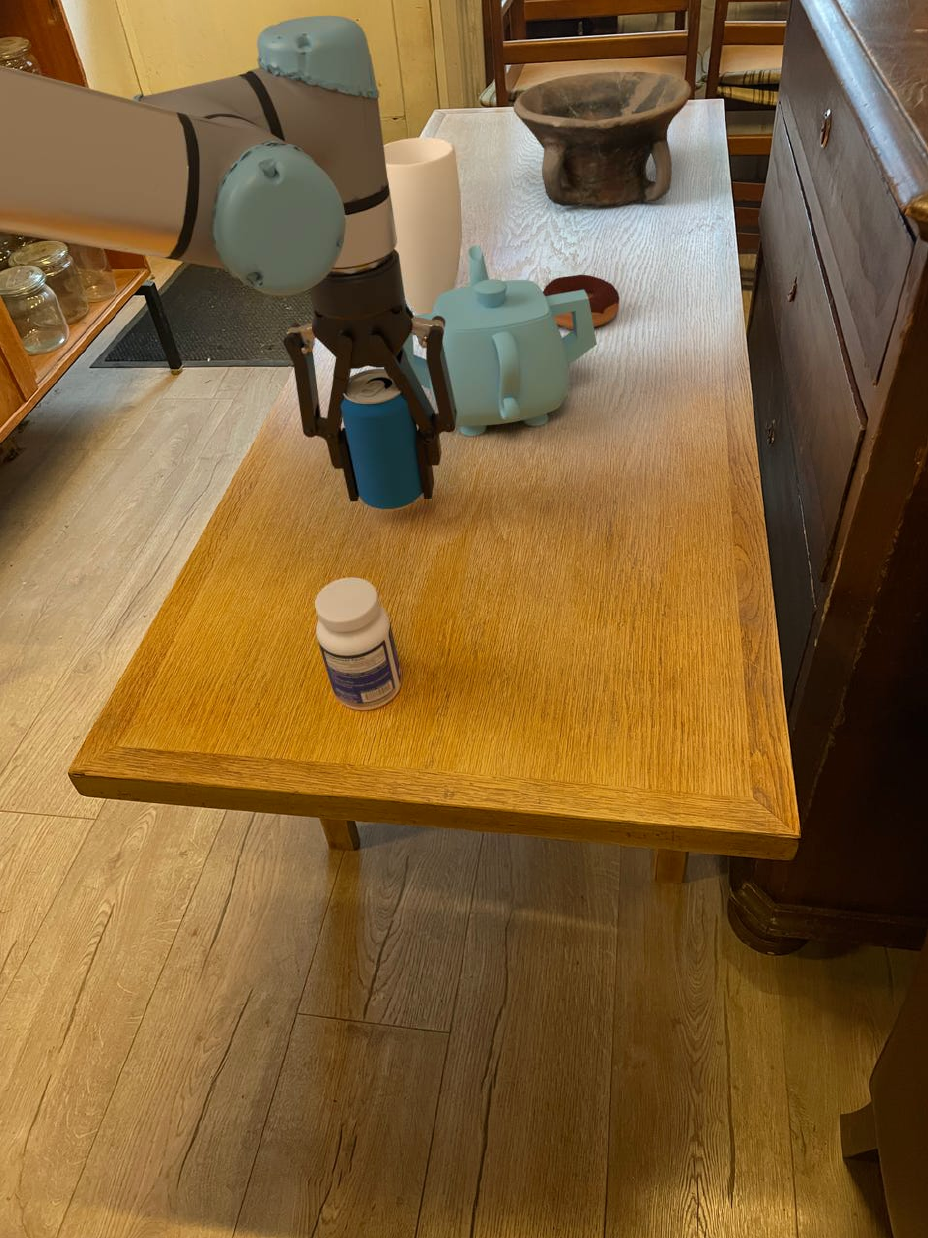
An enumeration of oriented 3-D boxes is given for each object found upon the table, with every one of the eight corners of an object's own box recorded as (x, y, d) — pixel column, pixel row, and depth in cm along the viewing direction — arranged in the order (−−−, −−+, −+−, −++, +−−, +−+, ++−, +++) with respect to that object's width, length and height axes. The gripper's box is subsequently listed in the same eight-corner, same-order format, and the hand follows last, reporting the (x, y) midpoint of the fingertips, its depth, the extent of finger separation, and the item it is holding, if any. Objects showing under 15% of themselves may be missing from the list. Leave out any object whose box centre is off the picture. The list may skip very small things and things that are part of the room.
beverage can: (438, 485, 87) (424, 374, 78) (401, 523, 83) (381, 411, 75) (385, 469, 89) (366, 360, 81) (346, 504, 86) (322, 394, 77)
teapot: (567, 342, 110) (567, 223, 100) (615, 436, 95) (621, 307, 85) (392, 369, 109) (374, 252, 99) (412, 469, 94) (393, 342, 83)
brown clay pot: (527, 167, 156) (524, 69, 145) (682, 162, 151) (690, 61, 140) (507, 228, 137) (501, 121, 127) (683, 224, 132) (692, 113, 122)
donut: (628, 327, 112) (629, 296, 109) (551, 339, 111) (551, 308, 108) (606, 293, 119) (607, 263, 116) (534, 304, 118) (533, 274, 115)
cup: (489, 327, 114) (477, 147, 99) (425, 357, 110) (402, 174, 95) (440, 303, 121) (422, 129, 106) (377, 330, 117) (349, 154, 101)
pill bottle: (349, 654, 75) (327, 566, 68) (412, 666, 73) (396, 577, 66) (321, 706, 71) (294, 618, 64) (387, 719, 70) (367, 631, 63)
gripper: (476, 228, 71) (494, 466, 87) (242, 242, 73) (302, 471, 90) (470, 268, 66) (490, 513, 82) (218, 282, 68) (286, 518, 84)
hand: (392, 491), depth 86 cm, fingers closed on beverage can, 6 cm apart
